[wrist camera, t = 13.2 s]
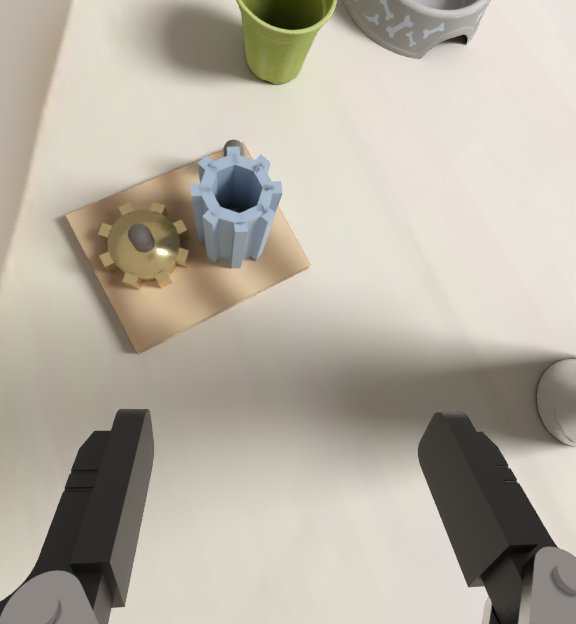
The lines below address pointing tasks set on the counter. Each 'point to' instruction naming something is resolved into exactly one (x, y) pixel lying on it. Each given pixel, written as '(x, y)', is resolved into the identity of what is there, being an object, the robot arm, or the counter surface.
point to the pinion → (234, 206)
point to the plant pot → (281, 34)
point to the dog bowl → (416, 22)
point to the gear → (150, 263)
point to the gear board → (186, 281)
